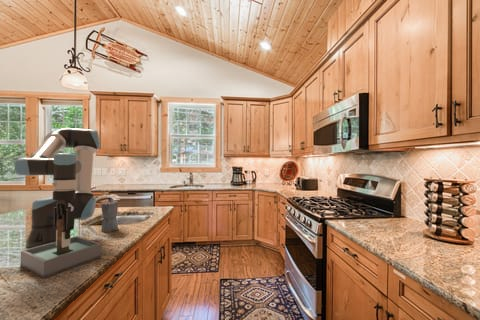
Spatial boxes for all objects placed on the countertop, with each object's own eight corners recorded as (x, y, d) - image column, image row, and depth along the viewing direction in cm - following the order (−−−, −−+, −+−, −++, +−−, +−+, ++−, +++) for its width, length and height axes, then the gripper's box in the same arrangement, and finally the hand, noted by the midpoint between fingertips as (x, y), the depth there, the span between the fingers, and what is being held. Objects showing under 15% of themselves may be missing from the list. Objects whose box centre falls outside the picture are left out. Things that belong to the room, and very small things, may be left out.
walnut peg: (54, 253, 89) (55, 219, 89) (66, 249, 93) (66, 217, 93) (59, 255, 87) (60, 220, 88) (70, 251, 91) (71, 218, 91)
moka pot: (97, 234, 124) (98, 200, 124) (102, 227, 138) (103, 196, 138) (116, 232, 127) (117, 199, 128) (119, 225, 142) (120, 195, 142)
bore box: (20, 265, 86) (20, 250, 86) (76, 248, 104) (77, 236, 104) (43, 278, 77) (44, 261, 77) (101, 257, 94) (101, 243, 95)
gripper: (43, 189, 91) (42, 244, 91) (64, 192, 83) (62, 252, 83) (64, 187, 98) (63, 239, 97) (85, 190, 90) (84, 246, 90)
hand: (63, 245), depth 90 cm, fingers closed on walnut peg, 4 cm apart
